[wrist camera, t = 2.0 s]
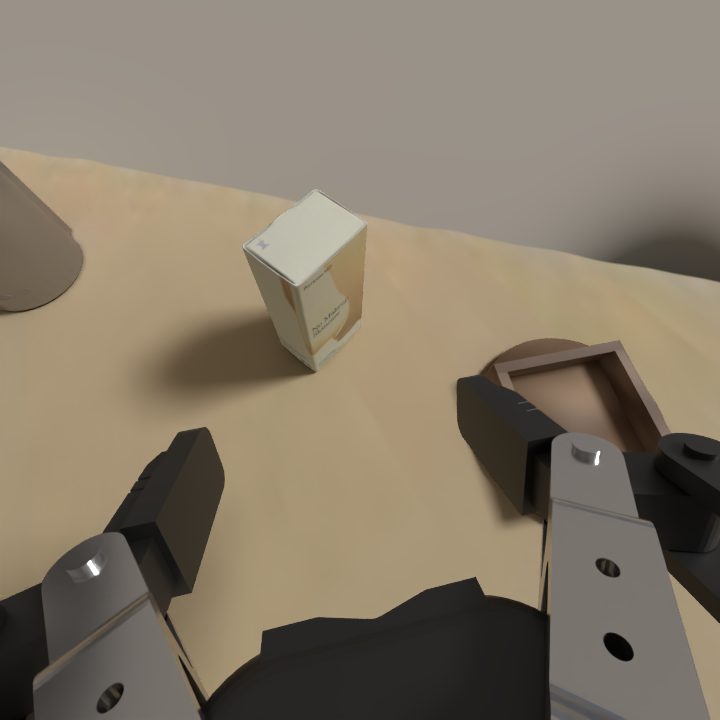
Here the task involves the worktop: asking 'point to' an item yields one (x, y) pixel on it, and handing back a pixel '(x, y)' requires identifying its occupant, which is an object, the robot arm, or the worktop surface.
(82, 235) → the worktop surface
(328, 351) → the skincare box
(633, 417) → the walnut stand
